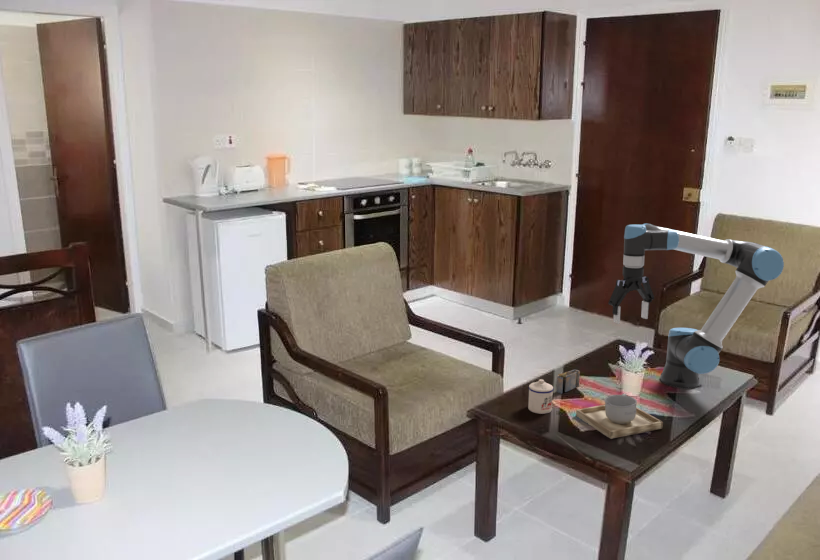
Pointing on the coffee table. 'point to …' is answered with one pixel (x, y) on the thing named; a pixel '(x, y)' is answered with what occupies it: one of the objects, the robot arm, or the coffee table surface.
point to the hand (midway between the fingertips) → (630, 320)
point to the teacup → (620, 408)
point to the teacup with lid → (540, 397)
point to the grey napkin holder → (568, 380)
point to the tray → (613, 430)
